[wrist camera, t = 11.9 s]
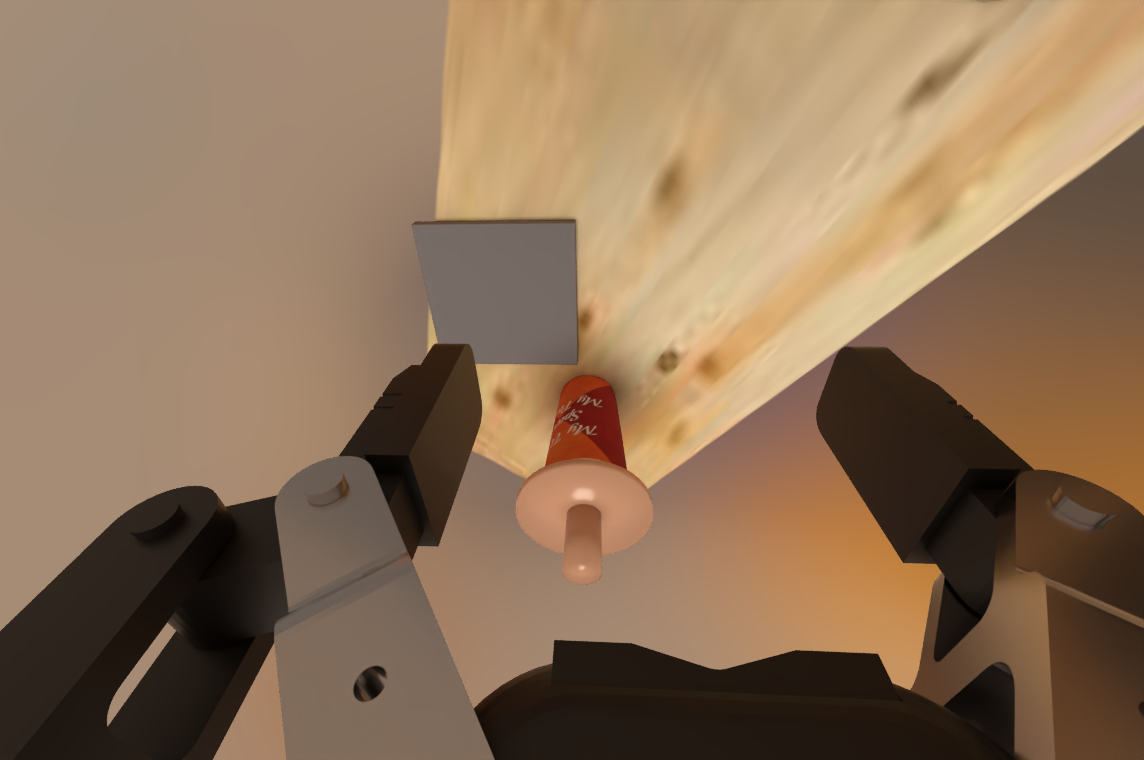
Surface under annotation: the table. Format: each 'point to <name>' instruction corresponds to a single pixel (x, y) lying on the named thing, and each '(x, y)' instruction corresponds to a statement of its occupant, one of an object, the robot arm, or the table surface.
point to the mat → (503, 288)
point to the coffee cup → (587, 424)
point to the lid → (584, 513)
